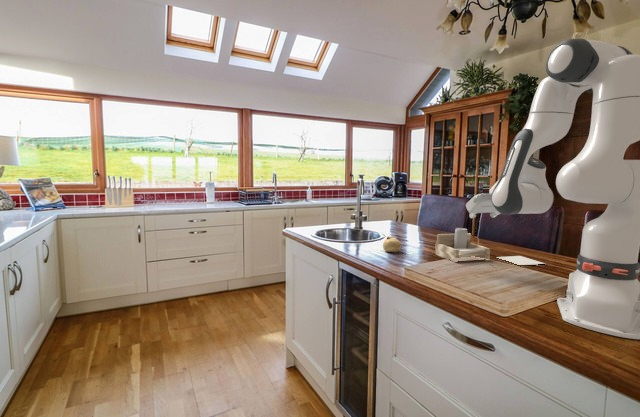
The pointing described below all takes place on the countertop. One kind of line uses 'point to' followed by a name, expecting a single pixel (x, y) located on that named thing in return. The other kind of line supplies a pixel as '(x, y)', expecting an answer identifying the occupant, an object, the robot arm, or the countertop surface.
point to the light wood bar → (471, 252)
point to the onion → (391, 245)
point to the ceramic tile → (520, 260)
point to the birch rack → (446, 246)
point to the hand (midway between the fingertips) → (481, 216)
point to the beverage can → (460, 238)
